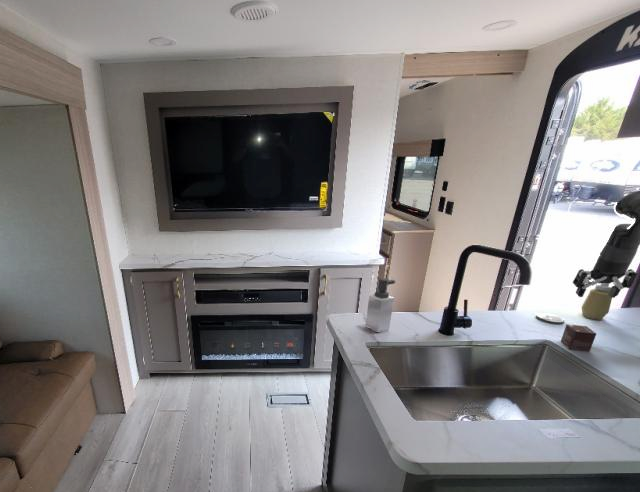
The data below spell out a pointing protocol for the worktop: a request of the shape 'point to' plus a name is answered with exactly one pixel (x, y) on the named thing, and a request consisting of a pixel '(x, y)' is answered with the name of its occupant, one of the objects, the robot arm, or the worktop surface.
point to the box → (578, 337)
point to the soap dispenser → (380, 307)
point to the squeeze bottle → (597, 302)
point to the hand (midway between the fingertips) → (595, 296)
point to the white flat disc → (550, 318)
